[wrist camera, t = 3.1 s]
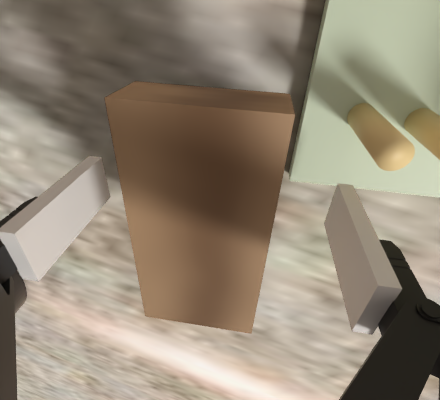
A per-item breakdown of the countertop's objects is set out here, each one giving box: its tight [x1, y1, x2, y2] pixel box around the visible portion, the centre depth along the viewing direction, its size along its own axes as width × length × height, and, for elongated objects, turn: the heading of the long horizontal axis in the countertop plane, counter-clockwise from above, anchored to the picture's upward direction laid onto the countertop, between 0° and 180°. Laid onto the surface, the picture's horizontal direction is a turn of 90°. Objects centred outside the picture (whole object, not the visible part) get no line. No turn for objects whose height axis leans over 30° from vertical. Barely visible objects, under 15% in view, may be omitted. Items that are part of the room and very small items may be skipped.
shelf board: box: [104, 81, 295, 333], centre depth 13 cm, size 6×12×2 cm, turn 177°
